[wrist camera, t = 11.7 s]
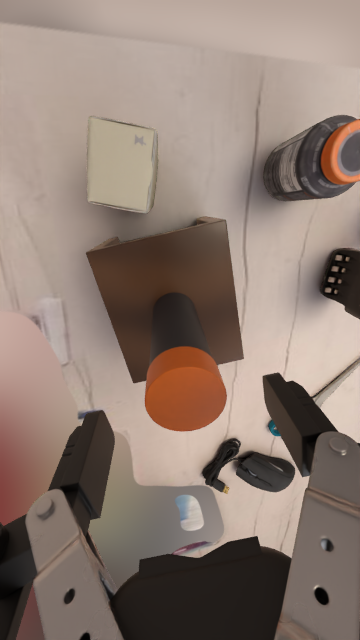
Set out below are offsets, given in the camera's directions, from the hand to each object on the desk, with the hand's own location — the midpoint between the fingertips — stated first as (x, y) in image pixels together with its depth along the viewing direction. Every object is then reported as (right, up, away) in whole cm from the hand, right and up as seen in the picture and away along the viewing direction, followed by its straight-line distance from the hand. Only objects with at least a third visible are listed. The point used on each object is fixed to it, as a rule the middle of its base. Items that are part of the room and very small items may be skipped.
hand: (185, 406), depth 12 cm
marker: (-1, +5, +11) cm, 12 cm away
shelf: (-2, +9, +20) cm, 22 cm away
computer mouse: (+13, -25, +37) cm, 46 cm away
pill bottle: (+12, +21, +16) cm, 29 cm away
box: (-5, +20, +16) cm, 26 cm away
